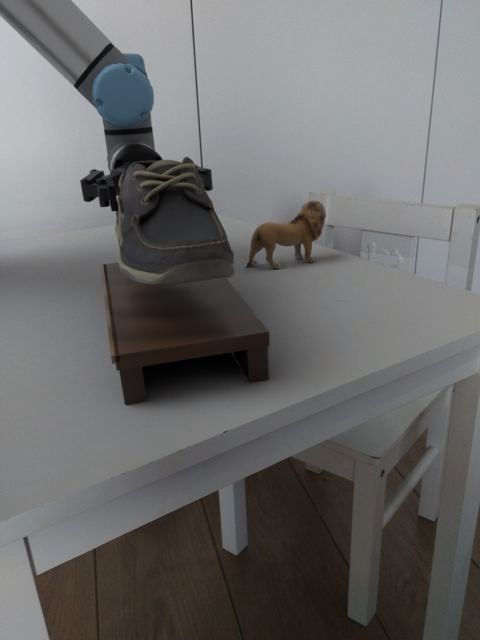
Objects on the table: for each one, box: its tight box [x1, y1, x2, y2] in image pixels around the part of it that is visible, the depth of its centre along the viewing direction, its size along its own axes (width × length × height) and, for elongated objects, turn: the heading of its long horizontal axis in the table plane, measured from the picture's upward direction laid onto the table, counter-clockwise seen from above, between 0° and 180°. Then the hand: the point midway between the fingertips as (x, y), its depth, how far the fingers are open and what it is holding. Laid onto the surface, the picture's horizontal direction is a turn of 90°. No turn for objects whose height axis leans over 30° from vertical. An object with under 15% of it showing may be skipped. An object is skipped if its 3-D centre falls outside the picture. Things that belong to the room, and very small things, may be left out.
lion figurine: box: [244, 200, 327, 269], centre depth 88 cm, size 15×5×9 cm, turn 122°
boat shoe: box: [114, 156, 236, 285], centre depth 60 cm, size 11×29×11 cm, turn 24°
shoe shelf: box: [100, 261, 271, 405], centre depth 65 cm, size 30×14×5 cm, turn 16°
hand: (155, 194), depth 64 cm, fingers closed on boat shoe, 9 cm apart
